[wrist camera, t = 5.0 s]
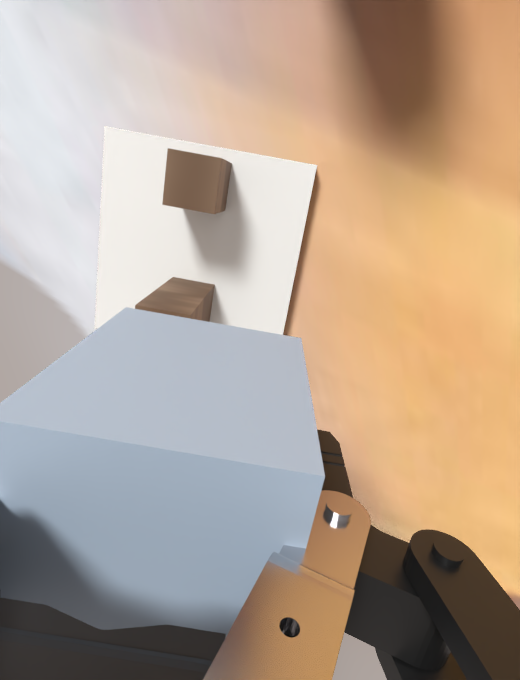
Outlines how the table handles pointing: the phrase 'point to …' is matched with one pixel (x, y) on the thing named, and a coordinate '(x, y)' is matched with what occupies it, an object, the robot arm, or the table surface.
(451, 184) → the table surface
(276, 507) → the pastel blue cube
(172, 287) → the walnut post
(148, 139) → the board
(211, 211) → the short post
